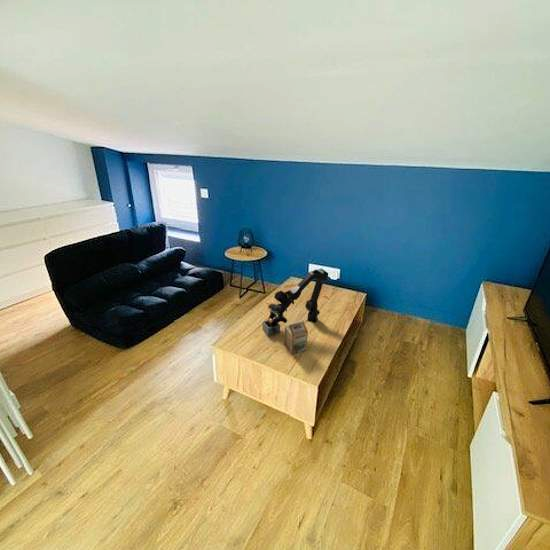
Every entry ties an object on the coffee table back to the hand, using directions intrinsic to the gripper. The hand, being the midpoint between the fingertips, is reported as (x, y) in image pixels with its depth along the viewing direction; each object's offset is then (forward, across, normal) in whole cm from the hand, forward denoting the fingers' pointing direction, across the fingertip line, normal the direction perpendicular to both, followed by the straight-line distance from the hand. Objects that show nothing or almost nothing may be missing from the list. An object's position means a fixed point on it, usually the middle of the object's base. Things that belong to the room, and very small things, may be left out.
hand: (269, 323), depth 199 cm
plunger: (+4, 0, +6) cm, 7 cm away
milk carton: (0, +22, +10) cm, 25 cm away
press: (+4, +1, +6) cm, 7 cm away
